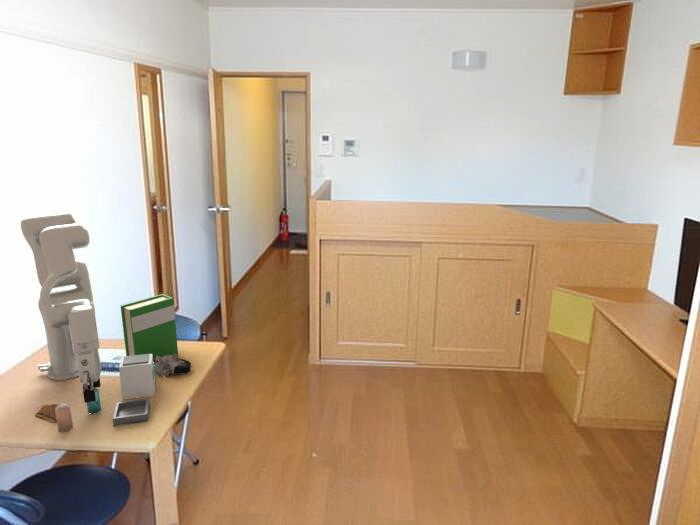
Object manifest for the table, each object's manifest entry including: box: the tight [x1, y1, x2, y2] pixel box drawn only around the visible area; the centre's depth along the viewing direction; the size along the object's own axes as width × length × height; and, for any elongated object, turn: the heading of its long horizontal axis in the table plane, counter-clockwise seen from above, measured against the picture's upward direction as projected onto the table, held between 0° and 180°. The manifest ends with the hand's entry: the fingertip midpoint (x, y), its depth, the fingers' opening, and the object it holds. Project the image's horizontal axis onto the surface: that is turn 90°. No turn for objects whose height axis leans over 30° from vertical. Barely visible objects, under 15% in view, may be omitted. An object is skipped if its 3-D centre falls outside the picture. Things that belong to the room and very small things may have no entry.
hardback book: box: [119, 293, 179, 362], centre depth 204 cm, size 18×7×24 cm, turn 140°
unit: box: [118, 354, 156, 400], centre depth 181 cm, size 11×8×13 cm
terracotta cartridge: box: [55, 403, 74, 432], centre depth 160 cm, size 4×4×8 cm
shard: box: [34, 403, 62, 424], centre depth 167 cm, size 11×8×2 cm
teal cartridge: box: [86, 388, 102, 415], centre depth 169 cm, size 4×4×8 cm
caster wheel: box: [154, 355, 192, 379], centre depth 196 cm, size 7×11×10 cm
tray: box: [112, 397, 151, 427], centre depth 168 cm, size 10×10×2 cm
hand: (92, 394), depth 168 cm, fingers open, 9 cm apart
